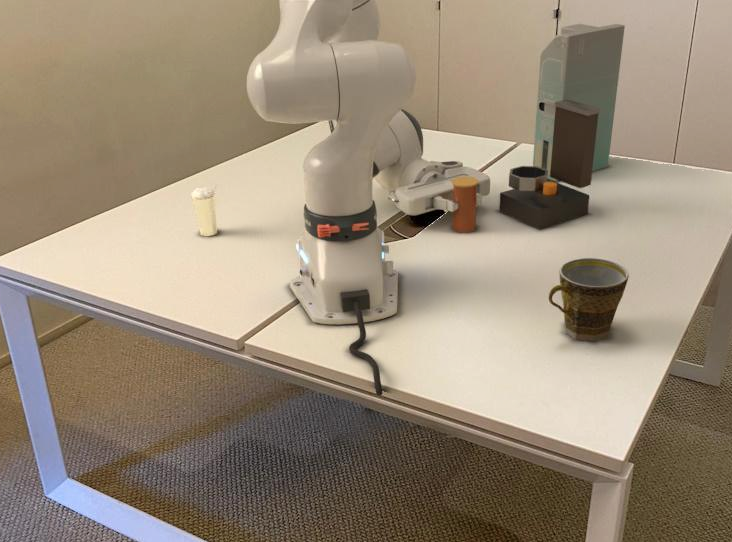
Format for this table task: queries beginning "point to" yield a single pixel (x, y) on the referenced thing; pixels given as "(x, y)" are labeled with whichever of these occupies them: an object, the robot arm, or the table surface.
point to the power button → (549, 188)
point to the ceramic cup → (590, 296)
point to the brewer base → (544, 205)
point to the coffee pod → (465, 203)
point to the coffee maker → (565, 149)
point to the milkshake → (205, 210)
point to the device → (578, 84)
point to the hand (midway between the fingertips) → (467, 203)
